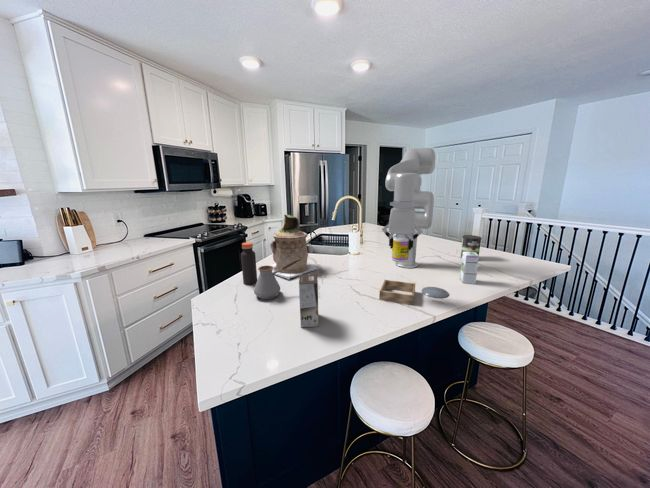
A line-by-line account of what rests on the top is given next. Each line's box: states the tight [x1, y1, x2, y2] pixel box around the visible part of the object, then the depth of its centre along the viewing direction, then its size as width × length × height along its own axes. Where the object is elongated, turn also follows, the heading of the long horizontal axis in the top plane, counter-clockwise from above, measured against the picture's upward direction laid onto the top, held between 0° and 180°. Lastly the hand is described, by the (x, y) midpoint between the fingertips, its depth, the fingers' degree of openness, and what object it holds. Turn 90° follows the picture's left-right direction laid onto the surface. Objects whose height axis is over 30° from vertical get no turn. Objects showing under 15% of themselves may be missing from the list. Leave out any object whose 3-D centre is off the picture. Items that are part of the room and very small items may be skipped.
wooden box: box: [378, 279, 416, 306], centre depth 111 cm, size 13×13×4 cm
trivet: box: [421, 286, 450, 299], centre depth 114 cm, size 11×11×1 cm
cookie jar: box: [268, 213, 321, 281], centre depth 142 cm, size 25×25×32 cm
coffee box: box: [298, 273, 319, 328], centre depth 91 cm, size 9×6×16 cm
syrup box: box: [459, 252, 480, 285], centre depth 125 cm, size 6×6×14 cm
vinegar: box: [240, 241, 258, 286], centre depth 126 cm, size 7×7×20 cm
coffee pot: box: [253, 260, 301, 300], centre depth 113 cm, size 21×12×15 cm, turn 109°
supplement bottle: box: [391, 234, 410, 263], centre depth 107 cm, size 7×7×13 cm
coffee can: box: [459, 234, 482, 260], centre depth 161 cm, size 10×10×14 cm
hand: (400, 248), depth 107 cm, fingers closed on supplement bottle, 6 cm apart
